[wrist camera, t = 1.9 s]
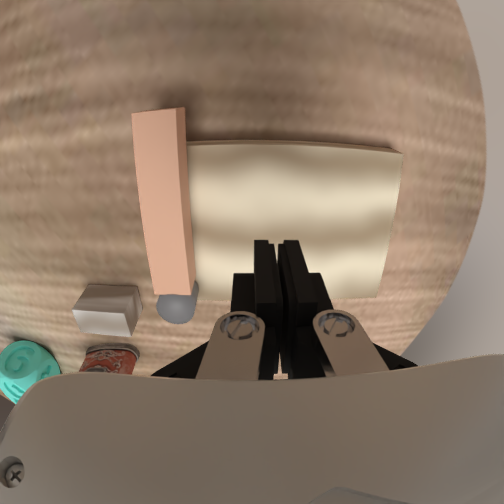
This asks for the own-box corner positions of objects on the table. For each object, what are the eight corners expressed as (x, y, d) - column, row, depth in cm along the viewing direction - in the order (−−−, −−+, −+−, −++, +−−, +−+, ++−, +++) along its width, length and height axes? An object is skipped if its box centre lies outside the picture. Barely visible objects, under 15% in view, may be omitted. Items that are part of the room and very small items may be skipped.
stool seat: (60, 155, 24) (33, 167, 20) (391, 148, 24) (415, 159, 20) (95, 306, 32) (80, 332, 28) (362, 308, 33) (374, 335, 29)
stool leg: (200, 303, 28) (196, 324, 26) (166, 302, 28) (159, 323, 26) (186, 106, 20) (177, 108, 18) (144, 110, 20) (130, 113, 18)
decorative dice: (28, 368, 39) (10, 403, 32) (12, 334, 36) (-12, 370, 29) (66, 380, 40) (48, 419, 33) (51, 346, 36) (28, 386, 29)
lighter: (132, 340, 35) (108, 406, 26) (144, 359, 36) (125, 424, 28) (83, 345, 36) (55, 403, 27) (95, 362, 37) (71, 420, 28)
